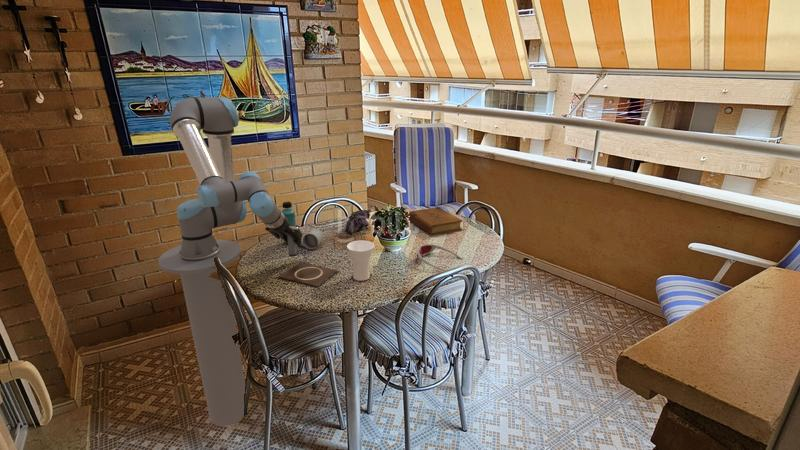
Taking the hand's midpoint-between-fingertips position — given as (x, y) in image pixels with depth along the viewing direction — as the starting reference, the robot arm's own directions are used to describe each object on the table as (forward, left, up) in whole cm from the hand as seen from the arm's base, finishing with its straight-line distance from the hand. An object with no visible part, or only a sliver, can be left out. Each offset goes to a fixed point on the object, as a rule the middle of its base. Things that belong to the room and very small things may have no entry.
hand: (295, 243), depth 173 cm
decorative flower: (+7, +41, -8) cm, 43 cm away
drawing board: (+13, -10, -7) cm, 18 cm away
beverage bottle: (-14, +13, -8) cm, 21 cm away
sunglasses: (+55, +23, -8) cm, 60 cm away
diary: (+40, +63, -8) cm, 75 cm away
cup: (+33, -3, -8) cm, 34 cm away
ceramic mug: (-3, +14, -8) cm, 16 cm away
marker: (+1, -4, -4) cm, 5 cm away
